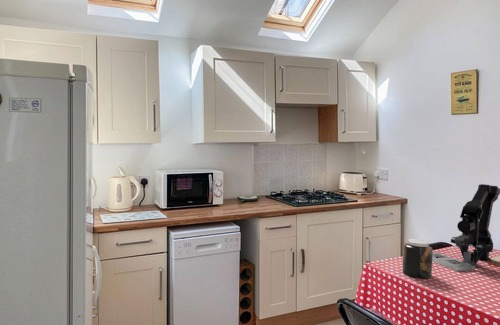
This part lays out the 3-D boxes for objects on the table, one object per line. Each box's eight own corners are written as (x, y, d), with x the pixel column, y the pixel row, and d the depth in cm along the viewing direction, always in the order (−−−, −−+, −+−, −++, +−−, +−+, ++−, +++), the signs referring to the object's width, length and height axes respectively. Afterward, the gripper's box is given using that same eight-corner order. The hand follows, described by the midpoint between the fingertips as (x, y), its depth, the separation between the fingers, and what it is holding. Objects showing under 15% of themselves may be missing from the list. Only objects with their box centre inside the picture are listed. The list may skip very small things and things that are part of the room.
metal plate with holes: (434, 255, 191) (434, 251, 191) (474, 269, 168) (475, 265, 168) (419, 256, 188) (419, 252, 188) (458, 271, 165) (458, 267, 165)
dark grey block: (469, 263, 179) (469, 251, 179) (476, 265, 175) (477, 253, 175) (463, 263, 178) (463, 251, 177) (470, 266, 174) (470, 254, 174)
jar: (402, 276, 157) (404, 242, 156) (402, 268, 168) (403, 236, 167) (432, 280, 153) (434, 246, 152) (430, 272, 163) (431, 239, 163)
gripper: (443, 226, 182) (441, 256, 183) (476, 235, 164) (474, 268, 165) (459, 225, 185) (458, 255, 186) (494, 234, 168) (492, 267, 168)
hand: (469, 261), depth 176 cm, fingers open, 6 cm apart
